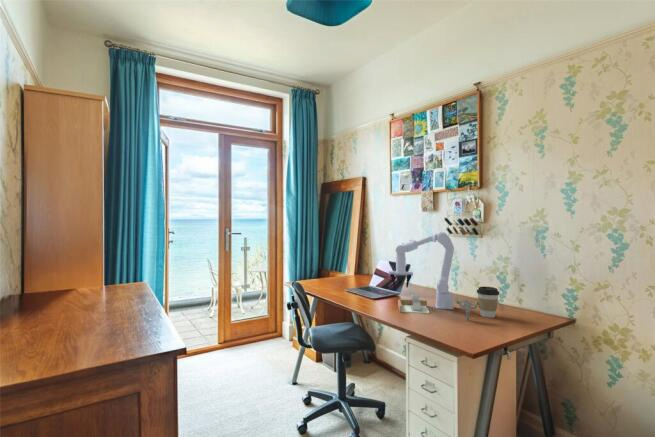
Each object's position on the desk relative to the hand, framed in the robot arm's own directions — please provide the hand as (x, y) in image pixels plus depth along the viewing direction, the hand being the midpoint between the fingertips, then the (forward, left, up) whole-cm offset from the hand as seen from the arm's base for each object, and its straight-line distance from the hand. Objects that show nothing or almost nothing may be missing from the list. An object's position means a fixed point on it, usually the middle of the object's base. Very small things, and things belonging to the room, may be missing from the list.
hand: (400, 287), depth 209 cm
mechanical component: (-32, +28, -11) cm, 44 cm away
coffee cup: (-45, +18, -11) cm, 50 cm away
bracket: (-8, +11, -10) cm, 16 cm away
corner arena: (-7, +11, -10) cm, 17 cm away
